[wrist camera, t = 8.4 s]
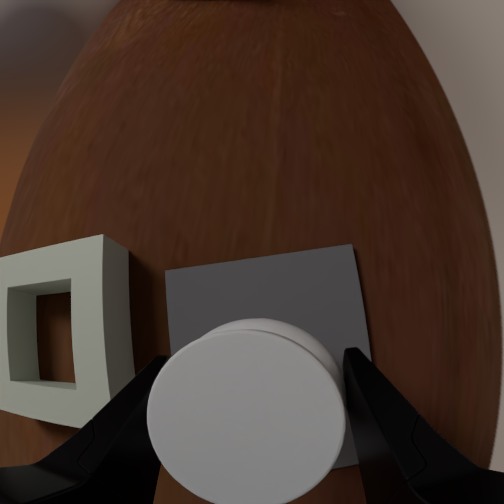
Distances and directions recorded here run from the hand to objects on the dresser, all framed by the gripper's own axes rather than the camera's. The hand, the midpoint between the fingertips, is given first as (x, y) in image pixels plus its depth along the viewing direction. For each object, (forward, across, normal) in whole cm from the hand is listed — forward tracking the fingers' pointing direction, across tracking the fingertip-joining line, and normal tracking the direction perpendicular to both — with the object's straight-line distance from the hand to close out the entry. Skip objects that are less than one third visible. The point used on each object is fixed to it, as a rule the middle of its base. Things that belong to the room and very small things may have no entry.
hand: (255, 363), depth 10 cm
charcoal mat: (+6, 0, +7) cm, 9 cm away
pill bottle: (+4, 0, +6) cm, 7 cm away
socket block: (+7, +15, +6) cm, 18 cm away
